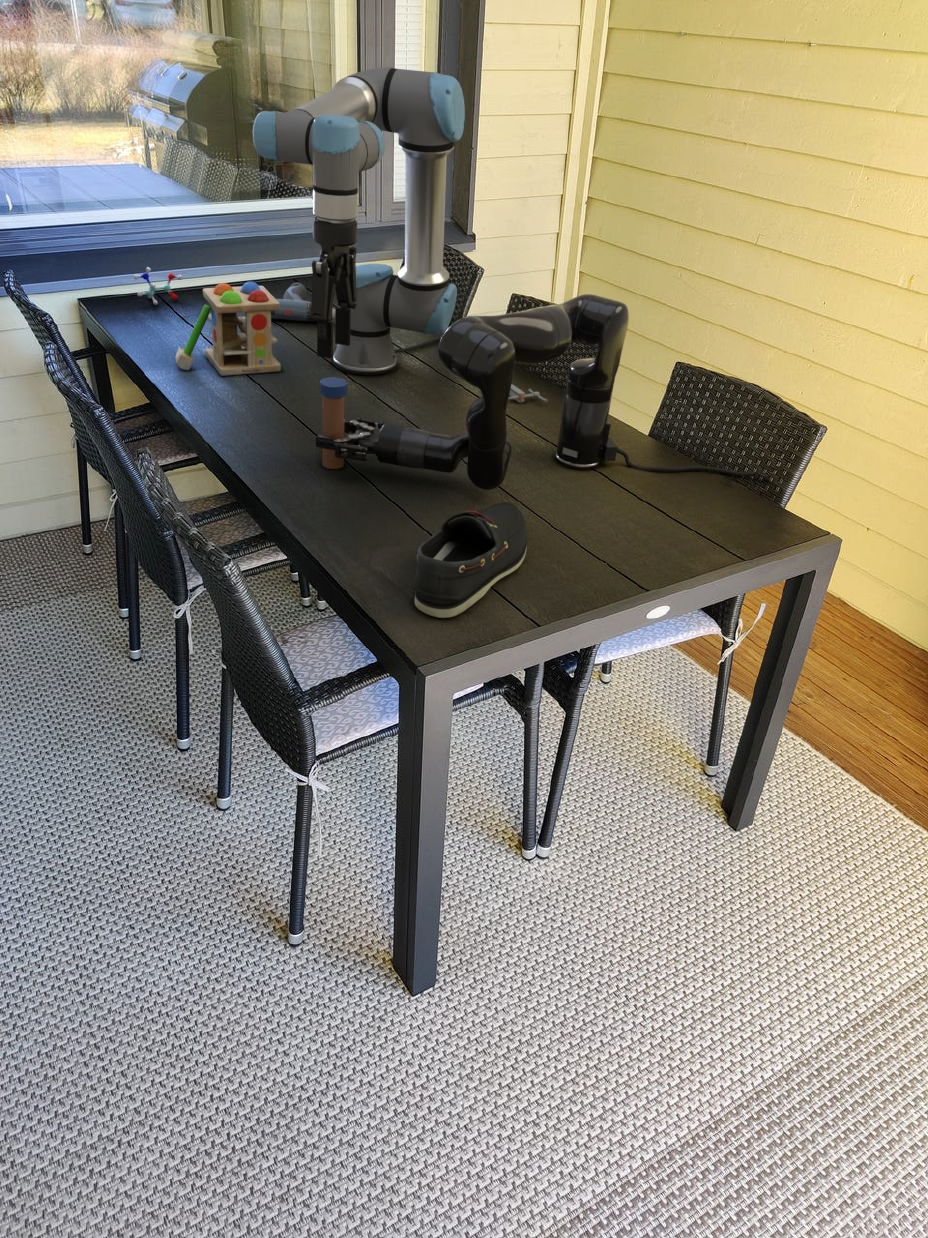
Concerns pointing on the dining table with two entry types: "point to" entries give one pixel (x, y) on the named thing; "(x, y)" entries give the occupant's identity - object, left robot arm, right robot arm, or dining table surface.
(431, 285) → the left robot arm
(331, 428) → the jar
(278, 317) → the power drill
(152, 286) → the molecular model
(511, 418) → the dining table surface
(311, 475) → the dining table surface
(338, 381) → the lid
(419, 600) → the boat shoe
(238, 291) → the pounding bench toy
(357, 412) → the dining table surface
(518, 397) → the clamp
